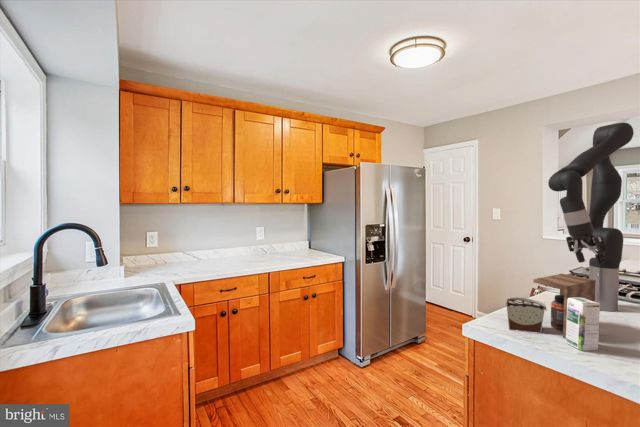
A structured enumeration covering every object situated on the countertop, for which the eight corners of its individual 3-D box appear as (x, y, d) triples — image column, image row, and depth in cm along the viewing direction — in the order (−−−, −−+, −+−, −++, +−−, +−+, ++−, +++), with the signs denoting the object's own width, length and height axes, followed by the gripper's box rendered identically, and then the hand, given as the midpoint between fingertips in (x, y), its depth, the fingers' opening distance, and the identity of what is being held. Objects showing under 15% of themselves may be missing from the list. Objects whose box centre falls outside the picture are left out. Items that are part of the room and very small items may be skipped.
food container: (540, 326, 112) (540, 299, 112) (546, 333, 106) (546, 304, 106) (500, 322, 116) (501, 295, 116) (504, 329, 110) (505, 301, 110)
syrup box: (564, 342, 100) (565, 297, 99) (581, 341, 100) (583, 296, 99) (581, 351, 94) (582, 303, 93) (599, 350, 94) (600, 302, 94)
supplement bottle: (575, 332, 107) (576, 299, 107) (556, 331, 108) (556, 298, 108) (565, 325, 113) (566, 294, 112) (547, 324, 114) (548, 293, 114)
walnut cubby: (560, 318, 119) (561, 273, 118) (594, 328, 110) (595, 279, 109) (532, 327, 112) (533, 279, 111) (565, 338, 102) (567, 286, 102)
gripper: (604, 218, 115) (618, 261, 114) (571, 220, 129) (584, 258, 128) (584, 224, 114) (599, 267, 113) (554, 225, 128) (567, 263, 128)
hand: (591, 262), depth 121 cm, fingers open, 8 cm apart
